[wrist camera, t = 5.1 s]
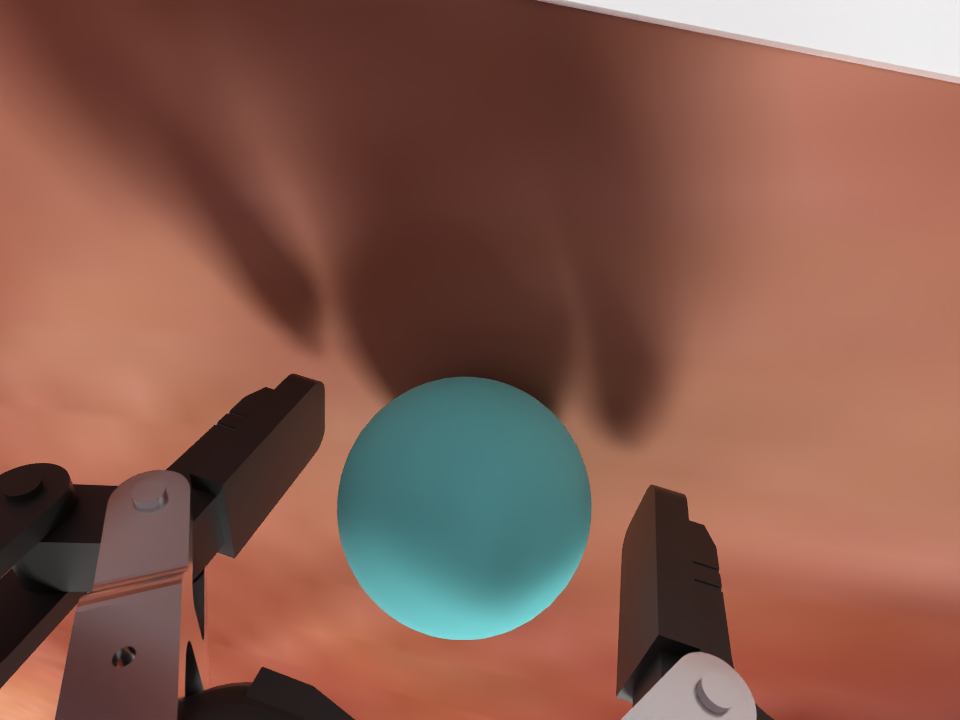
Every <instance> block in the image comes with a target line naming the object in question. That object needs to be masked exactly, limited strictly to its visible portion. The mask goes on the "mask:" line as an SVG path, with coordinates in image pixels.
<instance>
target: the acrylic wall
mask: <svg viewBox="0 0 960 720" xmlns="http://www.w3.org/2000/svg"><path fill="white" fill-rule="evenodd" d="M536 1H541V2H547V3H552V4H557V5H562V6H567V7H572V8H577V9H582V10H587V11H592V12H598V13H603V14H608V15H613V16H618V17H623V18H628V19H633V20H638V21H643V22H648V23H654V24H659V25H664V26H669V27H674V28H679V29H684V30H689V31H694V32H699V33H705V34H710V35H715V36H720V37H725V38H730V39H735V40H740V41H745V42H750V43H755V44H761V45H766V46H771V47H776V48H781V49H786V50H791V51H796V52H801V53H806V54H811V55H817V56H822V57H827V58H832V59H837V60H842V61H847V62H852V63H857V64H862V65H868V66H873V67H878V68H883V69H888V70H893V71H898V72H903V73H908V74H913V75H918V76H924V77H929V78H934V79H939V80H944V81H949V82H954V83H959V84H960V0H536Z"/></svg>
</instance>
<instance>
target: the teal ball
mask: <svg viewBox="0 0 960 720" xmlns="http://www.w3.org/2000/svg"><path fill="white" fill-rule="evenodd" d="M337 518H338V527H339V534H340V539H341V543H342V547H343V550H344V553H345V556H346V559H347V561H348V564H349V566H350V568H351V570H352V571H353V573H354V575H355V577H356V578H357V580H358V582H359V584H360V585H361V587H362V588H363V589H364V591H365V592H366V593H367V594H368V595H369V597H370V598H371V599H372V600H373V601H374V602H375V603H376V604H377V605H378V606H379V607H380V608H381V609H382V610H383V611H384V612H386V613H387V614H388V615H389V616H391V617H392V618H394V619H395V620H397V621H398V622H400V623H402V624H404V625H405V626H407V627H409V628H412V629H414V630H416V631H419V632H421V633H424V634H427V635H430V636H434V637H438V638H444V639H452V640H474V639H483V638H488V637H492V636H496V635H499V634H503V633H506V632H508V631H511V630H513V629H515V628H517V627H519V626H521V625H523V624H525V623H526V622H528V621H530V620H532V619H533V618H534V617H536V616H537V615H538V614H539V613H541V612H542V611H543V610H544V609H546V608H547V607H548V606H550V605H551V603H552V602H553V601H554V600H555V599H556V598H557V597H558V595H559V594H560V593H561V592H562V591H563V590H564V589H565V587H566V586H567V584H568V583H569V581H570V579H571V578H572V576H573V574H574V573H575V571H576V569H577V567H578V566H579V563H580V560H581V558H582V555H583V553H584V550H585V547H586V544H587V540H588V535H589V530H590V522H591V491H590V485H589V479H588V475H587V471H586V467H585V465H584V462H583V459H582V457H581V454H580V452H579V450H578V447H577V445H576V444H575V442H574V440H573V439H572V437H571V435H570V434H569V432H568V431H567V429H566V428H565V426H564V425H563V424H562V423H561V421H560V420H559V419H558V418H557V417H556V416H555V415H554V414H553V413H552V412H551V411H550V410H549V409H548V408H547V407H545V406H544V405H543V404H542V403H540V402H539V401H538V400H536V399H535V398H534V397H532V396H531V395H529V394H527V393H526V392H524V391H522V390H520V389H518V388H516V387H514V386H511V385H509V384H506V383H503V382H500V381H496V380H492V379H487V378H479V377H451V378H444V379H439V380H435V381H431V382H428V383H424V384H422V385H419V386H417V387H414V388H412V389H410V390H409V391H407V392H405V393H403V394H401V395H400V396H398V397H396V398H395V399H393V400H392V401H391V402H390V403H388V404H387V405H386V406H385V407H384V408H382V409H381V410H380V411H379V412H378V413H377V414H376V415H375V416H374V417H373V418H372V419H371V421H370V422H369V423H368V424H367V425H366V427H365V428H364V429H363V430H362V431H361V433H360V435H359V436H358V438H357V440H356V442H355V443H354V445H353V447H352V449H351V451H350V452H349V455H348V457H347V460H346V463H345V465H344V469H343V472H342V475H341V480H340V485H339V490H338V500H337Z"/></svg>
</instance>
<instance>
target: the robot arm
mask: <svg viewBox="0 0 960 720" xmlns="http://www.w3.org/2000/svg"><path fill="white" fill-rule="evenodd" d="M324 430H325V388H324V384H323V383H322V382H320V381H316V380H313V379H310V378H307V377H303V376H300V375H297V374H291V375H289V376H288V377H287V378H286V379H285V380H283V381H282V382H281V383H280V384H279V385H278V386H277V387H276V388H275V389H274V390H273V389H270V388H267V387H265V388H263V389H261V390H258V391H256V392H254V393H252V394H250V395H248V396H246V397H244V398H243V399H242V400H241V401H240V402H239V403H238V404H237V405H236V406H235V407H233V408H232V409H231V410H230V413H229V414H226V415H225V416H224V417H223V418H222V419H221V420H219V421H218V423H217V425H214V426H213V427H212V428H211V429H210V430H209V431H208V432H207V433H205V434H204V435H203V436H202V437H201V438H200V439H199V440H198V441H197V442H196V443H195V444H194V445H193V446H191V447H190V448H189V449H188V450H187V451H186V452H185V453H184V454H183V455H182V456H181V457H180V458H179V459H177V460H176V461H175V462H174V463H173V464H172V465H171V466H170V467H169V468H167V469H166V470H153V471H148V472H144V473H141V474H138V475H136V476H133V477H131V478H129V479H128V480H126V481H124V482H123V483H122V484H120V485H119V486H103V485H78V484H72V481H71V479H70V476H69V474H68V472H67V471H66V470H65V469H64V468H62V467H61V466H58V465H55V464H50V463H35V464H29V465H24V466H20V467H17V468H14V469H12V470H9V471H7V472H5V473H3V474H1V475H0V578H1V577H2V576H3V575H4V574H5V573H6V572H7V573H6V574H5V575H4V576H3V577H2V578H1V579H0V688H1V687H2V686H3V685H4V684H5V683H6V682H7V681H8V680H9V678H10V677H11V676H12V675H13V674H14V673H15V672H16V671H17V670H18V668H19V667H20V666H21V665H22V664H23V663H24V662H25V661H26V660H27V659H28V657H29V656H30V655H31V654H32V653H33V652H34V651H35V650H36V649H37V647H38V646H39V645H40V644H41V643H42V642H43V641H44V640H45V639H46V637H47V636H48V635H49V634H50V633H51V632H52V631H53V630H54V629H55V627H56V626H57V625H58V624H59V623H60V622H61V621H62V620H63V619H64V617H65V616H66V615H67V614H68V613H69V612H70V611H71V610H72V609H73V608H74V606H75V605H76V604H77V603H78V604H77V608H76V612H75V617H74V622H73V627H72V633H71V638H70V643H69V648H68V653H67V659H66V664H65V669H64V674H63V680H62V685H61V690H60V695H59V700H58V706H57V711H56V716H55V720H355V719H353V718H352V717H351V716H350V715H348V714H347V713H346V712H345V711H343V710H342V709H341V708H340V707H338V706H337V705H336V704H335V703H333V702H332V701H331V700H330V699H328V698H327V697H326V696H325V695H323V694H322V693H321V692H320V691H318V690H317V689H316V688H315V687H313V686H311V685H309V684H306V683H304V682H301V681H298V680H296V679H293V678H290V677H288V676H285V675H283V674H280V673H277V672H275V671H272V670H270V669H267V668H264V667H262V668H261V669H260V671H259V673H258V675H257V676H256V678H255V680H254V681H253V682H241V683H230V684H225V685H220V686H216V687H213V688H211V679H210V668H209V660H208V602H207V564H208V563H209V562H210V561H211V560H212V558H213V557H214V556H215V555H216V553H217V552H218V553H221V554H224V555H226V556H229V557H232V558H235V557H236V556H237V555H238V553H239V552H240V551H241V549H242V548H243V547H244V546H245V544H246V543H247V542H248V540H249V539H250V538H251V536H252V535H253V534H254V533H255V531H256V530H257V529H258V527H259V526H260V525H261V523H262V522H263V521H264V520H265V518H266V517H267V516H268V514H269V513H270V512H271V510H272V509H273V508H274V507H275V505H276V504H277V503H278V501H279V500H280V499H281V497H282V496H283V495H284V494H285V492H286V491H287V490H288V488H289V487H290V486H291V484H292V483H293V482H294V481H295V479H296V478H297V477H298V475H299V474H300V473H301V471H302V470H303V469H304V468H305V466H306V465H307V464H308V462H309V461H310V460H311V458H312V457H313V456H314V455H315V453H316V452H317V450H318V448H319V446H320V444H321V442H322V439H323V435H324ZM11 568H12V569H11ZM10 569H11V570H10ZM9 570H10V571H9ZM721 588H722V585H721V578H720V574H719V564H718V556H717V549H716V546H715V544H714V542H713V541H712V539H711V537H710V535H709V533H708V532H707V530H706V528H705V526H704V525H702V524H699V523H696V522H692V521H689V516H688V506H687V498H686V496H685V495H684V494H681V493H678V492H675V491H671V490H668V489H665V488H662V487H658V486H655V485H650V486H649V487H648V489H647V491H646V493H645V495H644V497H643V499H642V501H641V503H640V505H639V507H638V509H637V511H636V513H635V515H634V517H633V518H632V520H631V522H630V524H629V527H628V529H627V532H626V535H625V538H624V543H623V548H622V564H621V589H620V614H619V639H618V664H617V690H616V697H618V698H621V699H623V700H626V701H629V702H632V703H633V708H632V709H631V710H630V711H629V712H628V713H627V714H626V715H625V716H624V717H623V718H622V719H621V720H774V719H772V718H771V717H770V716H769V715H767V714H766V713H765V712H764V711H763V710H761V709H760V708H759V707H758V706H757V705H756V704H755V702H754V699H753V696H752V694H751V692H750V690H749V688H748V686H747V684H746V683H745V682H744V680H743V679H742V677H741V676H740V675H739V674H738V673H737V672H736V671H735V669H734V666H733V662H732V656H731V649H730V642H729V634H728V627H727V620H726V613H725V606H724V599H723V592H721ZM87 592H89V593H87Z"/></svg>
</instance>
